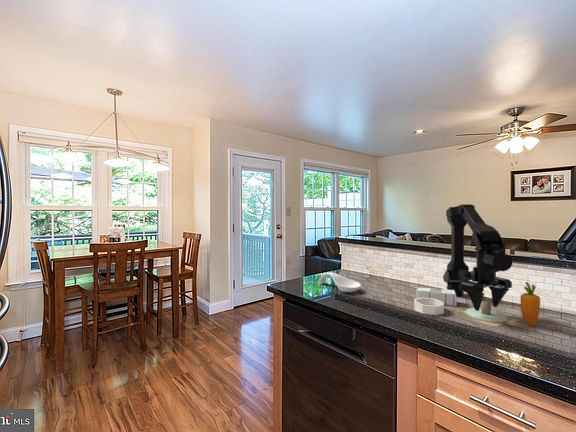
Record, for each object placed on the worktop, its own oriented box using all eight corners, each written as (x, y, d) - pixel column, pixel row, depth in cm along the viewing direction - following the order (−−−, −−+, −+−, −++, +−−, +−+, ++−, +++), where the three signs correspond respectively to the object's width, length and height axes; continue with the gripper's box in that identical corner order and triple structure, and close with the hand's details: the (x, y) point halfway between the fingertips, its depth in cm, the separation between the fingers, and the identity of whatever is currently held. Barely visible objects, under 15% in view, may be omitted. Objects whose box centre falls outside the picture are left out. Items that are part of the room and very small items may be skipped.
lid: (481, 308, 112) (481, 295, 111) (515, 319, 100) (515, 305, 100) (458, 313, 107) (458, 299, 107) (491, 325, 96) (491, 310, 96)
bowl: (428, 306, 118) (428, 296, 118) (449, 314, 109) (449, 304, 108) (408, 309, 114) (408, 299, 114) (429, 318, 105) (429, 307, 105)
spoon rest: (365, 291, 141) (365, 276, 141) (350, 296, 133) (350, 281, 133) (328, 282, 159) (328, 269, 159) (313, 286, 151) (313, 272, 151)
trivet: (480, 309, 113) (480, 307, 113) (520, 323, 100) (520, 320, 100) (454, 315, 108) (454, 312, 108) (492, 329, 95) (492, 326, 95)
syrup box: (416, 304, 121) (456, 308, 115) (416, 290, 121) (456, 294, 115) (416, 299, 126) (454, 303, 120) (416, 286, 126) (455, 289, 120)
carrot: (541, 333, 92) (541, 285, 91) (521, 329, 95) (521, 283, 94) (538, 327, 96) (538, 282, 96) (519, 324, 99) (519, 280, 98)
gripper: (482, 259, 114) (482, 298, 115) (446, 263, 108) (446, 305, 108) (513, 264, 104) (512, 307, 104) (475, 269, 97) (475, 315, 98)
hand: (485, 308), depth 104 cm, fingers open, 9 cm apart
